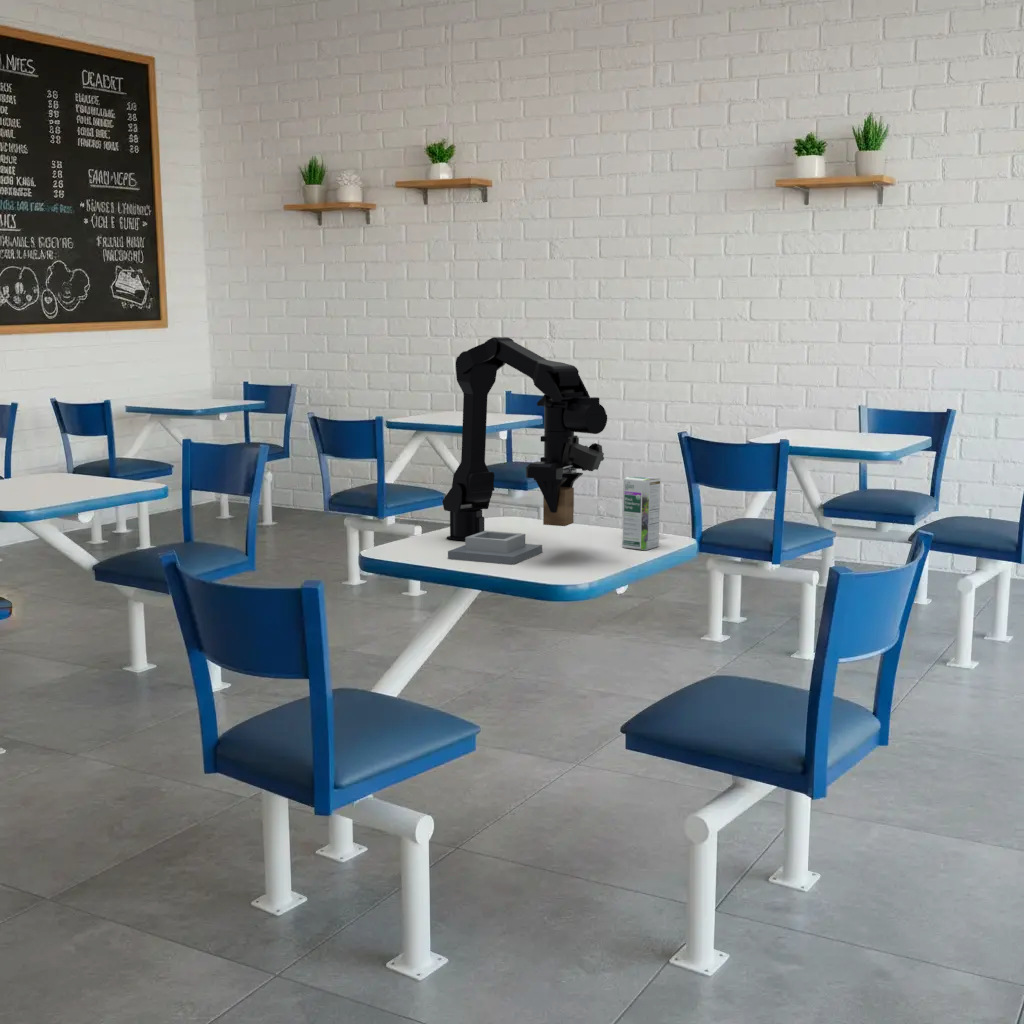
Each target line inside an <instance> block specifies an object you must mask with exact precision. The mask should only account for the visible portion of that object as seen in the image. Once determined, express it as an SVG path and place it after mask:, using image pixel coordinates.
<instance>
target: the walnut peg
mask: <svg viewBox="0 0 1024 1024" xmlns="http://www.w3.org/2000/svg"><path fill="white" fill-rule="evenodd" d="M574 491H575V487H560V493H559V500H558V507H557V512H556V513H552V512H551V511H550V509H549V507H548V505H547V503H546V500H545V498H544V496H543V495H542V496H543V497H542V498H543V500H542V501H543V502H542V503H543V507H542V508H543V509H542V510H543V511H542V512H543V513H542V514H543V515H542V516H543V518H542V521H543V524H542V525H543V526H544V525H545V526H553V527H567V526H570V525H572V524H574V517H575V516H574V511H575V509H574V505H575V503H574V502H575V501H574V500H575V499H574V498H575V493H574Z"/></svg>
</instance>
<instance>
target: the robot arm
mask: <svg viewBox="0 0 1024 1024" xmlns="http://www.w3.org/2000/svg"><path fill="white" fill-rule="evenodd" d="M505 365H507V366H509V367H511V368H513V369H515V370H517V371H519V372H520V373H522V374H524V375H525V376H527V377H528V378H530V379H531V380H532V382H533V386H534V387H535V388H537V389H538V390H539V391H540V392H541V393H542V394H543V396H542V397H541V398H540V399H539V400H538V401H537V402H536V406H537V407H544V409H543V411H544V412H543V413H544V414H543V415H544V417H543V418H544V421H543V422H544V423H543V424H544V425H543V427H544V428H543V429H544V431H543V432H544V434H543V435H541V436H540V442H544V443H543V447H544V448H543V450H544V451H543V456H541V457H540V459H539V460H540V461H539V460H537V461H534V462H530V463H529V464H528V465H527V466H526V467H525V478H527V479H533V481H535V483H536V484H537V486H538V487H539V490H540V492H541V495H542V496H544V498H545V500H546V503H547V505H548V507H549V509H550V511H551V512H552V513H556V512H557V507H558V500H559V493H560V487H573V486H574V484H575V482H576V481H577V480H578V479H579V478H580V477H582V476H583V475H584V473H583V472H577V470H582V471H584V472H585V471H589V472H593V471H594V470H596V471H597V470H599V467H600V465H601V462H603V461H604V460H605V457H604V455H605V453H604V452H603V445H601V444H600V443H596V442H595V443H591V444H590V445H589V447H588V445H583V444H580V442H579V441H580V439H579V437H578V435H576V434H575V433H578V434H579V433H582V434H591V435H592V434H593V435H599V434H601V433H602V432H603V431H604V429H605V428H606V425H607V424H608V423H607V422H608V414H607V411H606V409H605V407H604V406H603V405H602V404H600V397H597V396H596V397H595V396H594V397H591V396H590V394H589V391H588V390H587V388H586V386H585V384H584V382H583V380H582V378H581V376H580V374H579V369H578V368H577V367H576V366H575V365H572V364H569V363H565V362H560V361H553V360H549V359H546V358H544V357H542V356H541V355H539V354H537V353H535V352H534V351H532V350H530V349H528V348H526V347H524V346H523V345H521V344H520V343H518V342H515V340H513V339H512V338H510V337H508V336H502V337H500V336H496V337H495V336H493V337H491V338H489V339H487V340H486V341H484V342H483V343H481V344H479V345H476V346H474V347H472V348H469V349H467V350H465V351H464V350H463V351H462V352H460V354H459V355H458V356H456V360H455V375H456V382H457V383H458V386H459V387H460V389H461V391H462V393H463V398H462V399H463V400H462V401H463V402H462V403H463V404H462V406H463V407H462V430H461V434H462V435H461V459H460V463H459V464H458V466H457V468H456V470H455V472H454V474H453V476H452V484H451V488H450V490H449V491H448V492H447V494H446V495H445V496H444V498H443V499H442V500H441V501H442V506H443V510H444V511H445V512H446V511H447V512H449V535H447V536H446V537H445V539H446V540H455V541H465V537H468V536H471V535H474V534H477V533H480V532H483V531H485V517H484V516H483V510H488V509H489V507H490V501H491V500H492V496H493V492H494V491H495V485H494V484H495V483H494V482H495V473H494V471H490V470H489V467H488V466H487V464H486V445H487V444H486V442H487V439H486V438H487V414H488V395H489V394H490V391H491V390H492V388H493V386H494V384H495V383H496V379H497V372H498V370H499V369H501V368H503V367H504V366H505ZM573 488H574V487H573Z"/></svg>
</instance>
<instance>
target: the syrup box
mask: <svg viewBox="0 0 1024 1024" xmlns="http://www.w3.org/2000/svg"><path fill="white" fill-rule="evenodd" d="M622 489H623V491H622V492H623V493H622V496H623V497H622V499H623V500H622V507H623V509H622V537H621V539H622V540H621V546H622V549H633V550H641V551H647V550H648V551H649V550H651V549H655V548H658V547H659V545H660V543H659V542H660V538H659V537H660V509H661V508H660V505H661V504H660V503H661V501H660V500H661V477H660V478H659V477H648V476H636V475H632V476H627V477H624V478H623V488H622Z"/></svg>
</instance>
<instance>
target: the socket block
mask: <svg viewBox="0 0 1024 1024" xmlns="http://www.w3.org/2000/svg"><path fill="white" fill-rule="evenodd" d="M464 543H465V544H464V545H461V546H459V547H456V548H453V549H451V550H448V551H447V559H448V560H457V561H458V560H459V561H468V562H469V561H470V562H481V563H490V562H491V563H493V564H501V563H502V564H503V565H512V564H514V565H516V564H518V563H520V561H521V562H524V561H525V559H526V560H528V559H529V558H532V557H535V556H537V555H540V554H542V553H543V545H542V544H534V543H533V544H532V543H526V533H519V532H508V531H494V530H484V531H483V532H480V533H477V534H474V535H471V536H468V537H465V540H464ZM527 558H528V559H527ZM491 563H490V564H491ZM502 564H501V565H502Z"/></svg>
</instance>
